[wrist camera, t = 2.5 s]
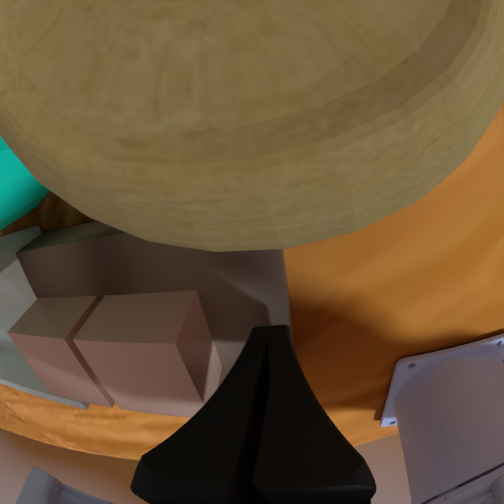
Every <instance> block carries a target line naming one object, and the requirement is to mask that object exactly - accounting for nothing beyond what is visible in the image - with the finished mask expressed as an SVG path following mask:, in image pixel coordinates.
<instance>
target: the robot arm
mask: <svg viewBox="0 0 504 504" xmlns="http://www.w3.org/2000/svg"><path fill="white" fill-rule="evenodd" d="M380 425H381V426H382V427H387V426H392V425H398V430H399V434H400V438H401V444H402V449H403V454H404V459H405V464H406V470H407V476H408V482H409V489H410V495H411V501H412V504H504V333H503V334H500V335H497V336H493V337H490V338H487V339H483V340H480V341H476V342H472V343H469V344H465V345H461V346H457V347H453V348H449V349H445V350H440V351H436V352H431V353H427V354H422V355H417V356H412V357H407V358H403V359H400V360H399V361H398V362H397V363H396V365H395V369H394V373H393V377H392V381H391V385H390V389H389V393H388V396H387V400H386V403H385V407H384V410H383V413H382V416H381V420H380ZM130 488H131V490H132V492H133V493H134V494H135V495H137V496H138V497H140V498H141V499H143V500H145V501H146V502H148V503H149V504H371V501H370V500H371V498H372V497H373V496H374V494H375V493H376V484H375V480H374V478H373V475H372V473H371V471H370V469H369V467H368V465H367V463H366V461H365V459H364V458H363V457H362V456H361V455H360V454H359V453H358V452H357V451H356V449H354V447H353V446H352V445H351V444H350V443H349V442H348V441H347V439H346V438H345V437H344V436H343V435H342V434H341V432H340V431H339V430H338V429H337V427H336V426H335V425H334V423H333V422H332V420H331V419H330V418H329V416H328V415H327V414H326V412H325V411H324V409H323V408H322V406H321V405H320V403H319V402H318V400H317V398H316V396H315V395H314V393H313V391H312V390H311V388H310V386H309V384H308V382H307V380H306V378H305V376H304V374H303V372H302V369H301V367H300V365H299V362H298V360H297V357H296V355H295V352H294V349H293V345H292V342H291V336H290V327H289V326H288V325H286V324H285V325H273V326H259V327H254V328H253V329H252V330H251V333H250V335H249V337H248V339H247V341H246V343H245V345H244V347H243V349H242V351H241V353H240V355H239V356H238V358H237V360H236V361H235V363H234V365H233V367H232V368H231V370H230V371H229V373H228V374H227V376H226V377H225V379H224V380H223V381H222V383H221V384H220V386H219V387H218V388H217V390H216V391H215V392H214V394H213V395H212V396H211V397H210V398H209V400H208V401H207V402H206V403H205V404H204V405H203V406H202V407H201V408H200V410H199V411H198V412H197V413H196V414H195V415H194V416H193V417H192V418H191V419H190V420H189V421H188V422H186V423H185V424H184V425H183V426H182V427H181V428H180V429H178V430H177V431H176V432H175V433H174V434H172V435H171V436H170V437H169V438H167V439H166V440H165V441H163V442H162V443H161V444H159V445H158V446H156V447H155V448H153V449H152V450H150V451H149V452H147V453H146V454H144V455H142V457H141V459H140V461H139V463H138V465H137V468H136V470H135V474H134V477H133V480H132V483H131V486H130ZM16 504H113V503H110V502H107V501H104V500H102V499H99V498H96V497H94V496H91V495H88V494H86V493H83V492H81V491H79V490H76V489H74V488H71V487H69V486H67V485H65V484H62V482H61V481H59V480H58V479H56V478H55V477H53V476H52V475H50V474H48V473H46V472H44V471H42V470H40V469H38V468H36V467H34V466H32V468H31V470H30V472H29V474H28V477H27V479H26V481H25V483H24V485H23V488H22V490H21V493H20V495H19V497H18V500H17V502H16Z"/></svg>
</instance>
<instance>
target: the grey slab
mask: <svg viewBox="0 0 504 504" xmlns="http://www.w3.org/2000/svg"><path fill="white" fill-rule="evenodd" d="M16 255H17V258H18V260H19V262H20V265H21V267H22V269H23V271H24V273H25V275H26V278H27V280H28V282H29V284H30V286H31V288H32V290H33V292H34V294H35V296H36V298H37V299H38V298H52V297H81V296H97V297H98V299H99V302H100V301H101V300H102V299H103V297H104V296H105V295H124V294H142V293H159V292H174V291H189V290H197V293H198V296H199V299H200V302H201V305H202V308H203V312H204V315H205V318H206V321H207V324H208V327H209V330H210V333H211V336H212V339H213V342H214V345H215V347H216V350H217V353H218V356H219V359H220V362H221V365H222V370H221V375H220V379H219V384H218V387H219V386H220V384H221V383H222V381H223V380H224V379H225V377H226V376H227V374H228V373H229V371H230V370H231V368H232V367H233V365H234V363H235V361H236V360H237V358H238V356H239V355H240V353H241V351H242V349H243V347H244V345H245V343H246V341H247V339H248V337H249V335H250V333H251V330H252V329H253V328H254V327H259V326H273V325H285V324H286V325H288V326H289V327H290V336H291V342H292V345H293V349H294V352H295V344H294V336H293V327H292V318H291V310H290V301H289V293H288V285H287V277H286V269H285V262H284V254H283V249H271V250H248V251H225V252H213V251H207V250H201V249H195V248H188V247H182V246H176V245H170V244H163V243H157V242H151V241H146V240H144V239H141V238H139V237H136V236H134V235H131V234H129V233H126V232H124V231H121V230H119V229H116V228H114V227H112V226H109V225H107V224H104V223H102V222H99V221H94V222H89V223H84V224H80V225H75V226H71V227H66V228H62V229H57V230H53V231H49V232H45V233H41V234H40V235H39V236H37V237H36V238H35V239H33V240H32V241H31V242H29V243H28V244H27V245H25V246H24V247H23V248H22V249H20V250H19V251H18V252H16ZM295 355H296V354H295Z"/></svg>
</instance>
